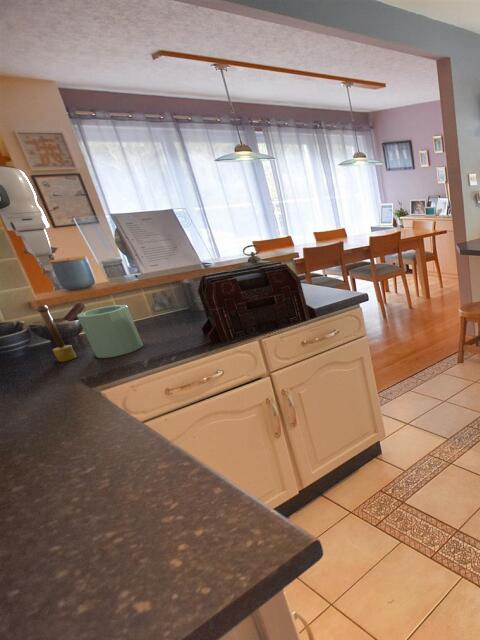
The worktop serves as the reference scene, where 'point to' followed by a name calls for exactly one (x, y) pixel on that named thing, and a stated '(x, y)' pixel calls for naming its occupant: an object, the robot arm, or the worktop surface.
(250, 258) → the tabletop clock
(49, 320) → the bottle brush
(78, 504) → the worktop surface
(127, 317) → the jar
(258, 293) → the crate
